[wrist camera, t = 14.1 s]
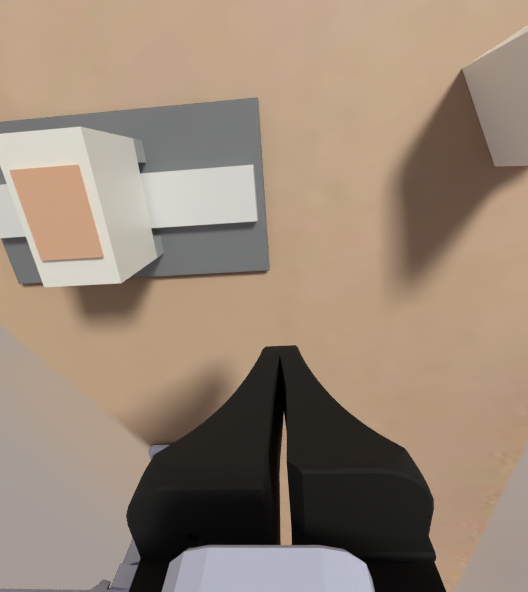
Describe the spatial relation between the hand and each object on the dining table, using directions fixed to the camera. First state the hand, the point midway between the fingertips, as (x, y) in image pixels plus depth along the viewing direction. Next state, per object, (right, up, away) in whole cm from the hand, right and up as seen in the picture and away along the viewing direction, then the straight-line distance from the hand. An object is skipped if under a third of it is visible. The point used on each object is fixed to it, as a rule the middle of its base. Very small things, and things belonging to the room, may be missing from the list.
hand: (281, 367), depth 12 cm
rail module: (-10, +9, +7) cm, 15 cm away
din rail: (-10, +9, +8) cm, 15 cm away
